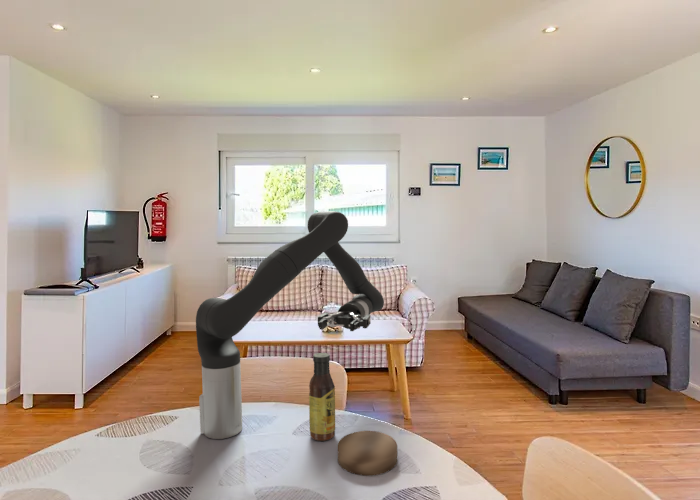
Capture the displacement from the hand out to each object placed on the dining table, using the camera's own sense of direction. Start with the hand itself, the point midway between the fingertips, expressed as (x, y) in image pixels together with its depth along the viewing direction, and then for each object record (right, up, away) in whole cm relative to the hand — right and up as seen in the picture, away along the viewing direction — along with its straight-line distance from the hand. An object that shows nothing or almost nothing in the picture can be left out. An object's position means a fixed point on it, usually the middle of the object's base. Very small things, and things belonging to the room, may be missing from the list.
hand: (335, 326), depth 113 cm
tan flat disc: (+8, -25, -19) cm, 33 cm away
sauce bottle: (-3, -25, -9) cm, 27 cm away
